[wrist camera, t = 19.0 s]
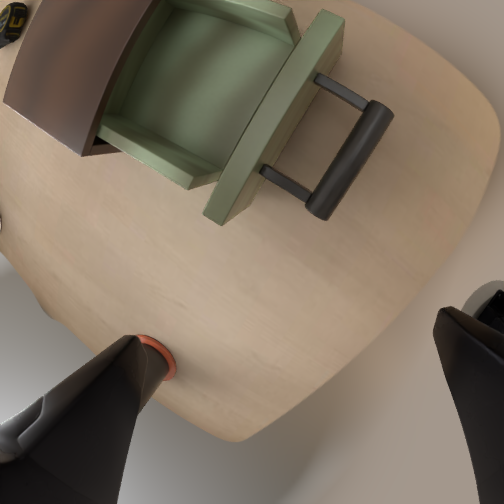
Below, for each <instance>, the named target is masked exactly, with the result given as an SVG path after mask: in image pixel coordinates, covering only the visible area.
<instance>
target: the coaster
mask: <svg viewBox="0 0 504 504" xmlns="http://www.w3.org/2000/svg"><path fill="white" fill-rule="evenodd" d="M136 336H138V337H139V339H140V341H141V343H145V344H148V345H151V346H152V347H154V348H156V349H157V350H158V351H159V352H160V353H161V354H162V355H163V356H164V357H165V359H166V360H167V362H168V365H169V372H168V374H167V376H166V377H165V378H164V380H163V381H167V380H170V379H172V378H173V376H174V375H175V373H176V363H175V360H174V358H173V357H172V355H171V354H170V352H169V351H168V350H167V349H166V348H165V347H164V346H163V345H162V344H161V343H159V342H158V341H156V340H155V339H153V338H150V337H148V336H144V335H136Z"/></svg>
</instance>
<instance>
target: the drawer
mask: <svg viewBox="0 0 504 504" xmlns="http://www.w3.org/2000/svg"><path fill="white" fill-rule="evenodd" d="M344 27H345V19H344V18H342V17H340V16H338V15H335V14H333V13H331V12H329V11H327V10H324V9H321V11H320V12H319V13H318V15H317V16H316V18H315V19H314V21H313V22H312V24H311V25H310V27H309V28H308V29H307V31H306V32H305V34H304V35H303V37H302V38H301V37H300V33H299V30H298V26H297V23H296V20H295V17H294V14H293V10H292V9H291V8H289V7H287V6H284V5H281V4H278V3H275V2H272V1H269V0H161V1H160V3H159V4H158V6H157V8H156V9H155V11H154V12H153V14H152V15H151V17H150V19H149V20H148V22H147V24H146V25H145V27H144V29H143V31H142V32H141V34H140V36H139V38H138V40H137V41H136V43H135V45H134V47H133V49H132V51H131V53H130V55H129V57H128V59H127V61H126V63H125V65H124V67H123V69H122V71H121V73H120V75H119V77H118V80H117V82H116V84H115V86H114V89H113V91H112V93H111V96H110V98H109V101H108V103H107V106H106V108H105V111H104V113H103V116H102V119H101V121H100V124H99V127H98V130H97V132H96V136H98V137H100V138H101V139H103V140H105V141H106V142H108V143H110V144H111V145H113V146H115V147H117V148H118V149H120V150H122V151H123V152H125V153H127V154H128V155H130V156H132V157H133V158H135V159H137V160H138V161H140V162H142V163H143V164H145V165H147V166H148V167H150V168H152V169H153V170H155V171H156V172H158V173H160V174H161V175H163V176H165V177H166V178H168V179H170V180H171V181H173V182H175V183H176V184H178V185H179V186H181V187H183V188H184V189H186V190H190V189H193V188H197V187H200V186H203V185H206V184H209V183H212V182H215V181H218V183H217V185H216V187H215V189H214V190H213V192H212V194H211V196H210V198H209V200H208V202H207V204H206V206H205V208H204V210H203V212H202V214H203V215H204V216H206V217H207V218H209V219H210V220H212V221H214V222H215V223H217V224H218V225H220V226H223V225H224V224H226V223H227V222H228V221H230V220H231V219H232V218H234V217H235V216H236V215H238V214H239V213H240V212H242V211H243V210H245V209H246V208H247V207H249V206H250V205H251V203H252V201H253V200H254V198H255V196H256V194H257V193H258V191H259V189H260V187H261V186H262V184H263V182H264V181H265V179H268V180H269V181H271V182H273V183H274V184H276V185H278V186H279V187H281V188H282V189H284V190H286V191H287V192H289V193H290V194H292V195H294V196H295V197H297V198H298V199H300V200H301V201H303V202H305V203H306V204H305V207H306V209H307V210H308V211H309V212H310V213H312V214H313V215H314V216H316V217H318V218H319V219H321V220H324V221H327V220H328V219H329V218H330V216H331V215H332V213H333V212H334V210H335V209H336V207H337V206H338V204H339V203H340V201H341V200H342V198H343V197H344V195H345V194H346V192H347V191H348V189H349V188H350V186H351V185H352V183H353V182H354V180H355V179H356V177H357V176H358V174H359V172H360V171H361V169H362V168H363V166H364V165H365V163H366V161H367V160H368V158H369V157H370V155H371V154H372V152H373V150H374V149H375V147H376V146H377V144H378V142H379V141H380V139H381V137H382V136H383V134H384V133H385V131H386V129H387V128H388V126H389V124H390V123H391V121H392V119H393V118H394V114H393V112H392V111H391V110H390V109H389V108H387V107H386V106H385V105H383V104H381V103H380V102H377V101H375V100H371V101H370V102H368V101H367V100H366V99H364V98H363V97H361V96H359V95H358V94H356V93H355V92H353V91H351V90H350V89H348V88H346V87H345V86H343V85H341V84H339V83H338V82H336V81H334V80H332V79H331V78H329V77H327V76H328V74H329V73H330V71H331V70H332V68H333V67H334V65H335V63H336V62H337V60H338V59H339V57H340V55H341V54H342V46H343V37H344ZM320 87H321V88H323V89H324V90H326V91H328V92H330V93H331V94H333V95H335V96H337V97H338V98H340V99H342V100H343V101H345V102H347V103H348V104H350V105H351V106H353V107H355V108H356V109H358V110H359V111H361V112H363V113H362V115H361V116H360V118H359V120H358V121H357V123H356V124H355V126H354V128H353V129H352V131H351V132H350V134H349V136H348V137H347V139H346V141H345V142H344V144H343V145H342V147H341V149H340V150H339V152H338V153H337V155H336V157H335V158H334V160H333V161H332V163H331V164H330V166H329V168H328V169H327V171H326V172H325V174H324V176H323V177H322V179H321V180H320V182H319V183H318V185H317V187H316V188H315V190H314V191H313V193H312V191H310V190H309V189H307V188H306V187H304V186H302V185H301V184H299V183H298V182H296V181H294V180H293V179H291V178H290V177H288V176H286V175H285V174H283V173H281V172H280V171H278V170H276V169H275V168H273V165H274V163H275V162H276V160H277V158H278V157H279V155H280V153H281V152H282V150H283V148H284V147H285V145H286V143H287V142H288V140H289V138H290V137H291V135H292V133H293V132H294V130H295V128H296V127H297V125H298V123H299V122H300V120H301V118H302V117H303V115H304V113H305V112H306V110H307V108H308V107H309V105H310V104H311V102H312V100H313V99H314V97H315V95H316V94H317V92H318V91H319V89H320Z"/></svg>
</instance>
